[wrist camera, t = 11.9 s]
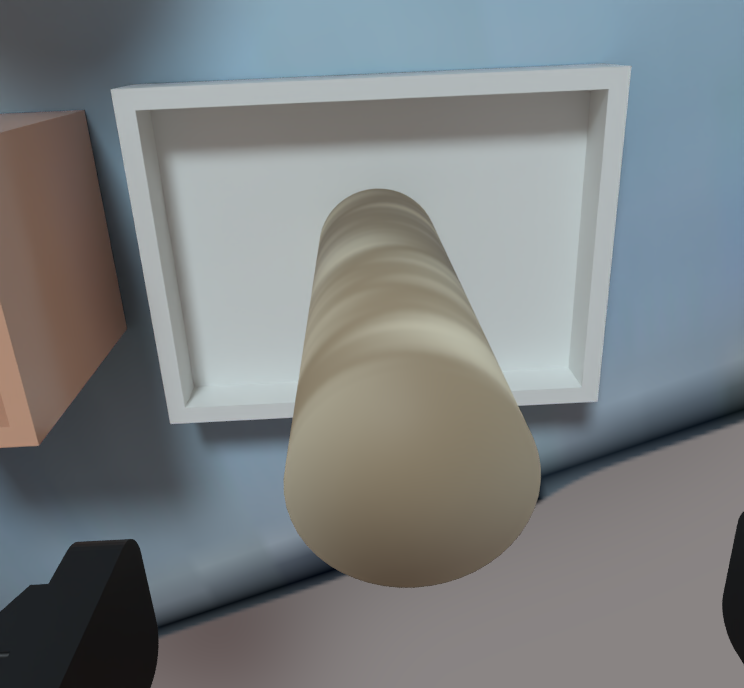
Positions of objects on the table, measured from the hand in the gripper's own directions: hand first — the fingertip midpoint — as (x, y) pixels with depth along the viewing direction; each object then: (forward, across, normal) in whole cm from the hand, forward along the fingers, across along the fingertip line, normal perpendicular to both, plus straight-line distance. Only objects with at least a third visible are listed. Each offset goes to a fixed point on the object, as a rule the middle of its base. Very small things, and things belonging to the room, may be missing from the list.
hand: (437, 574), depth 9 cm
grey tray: (+16, 0, 0) cm, 17 cm away
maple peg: (+16, 0, 0) cm, 16 cm away
